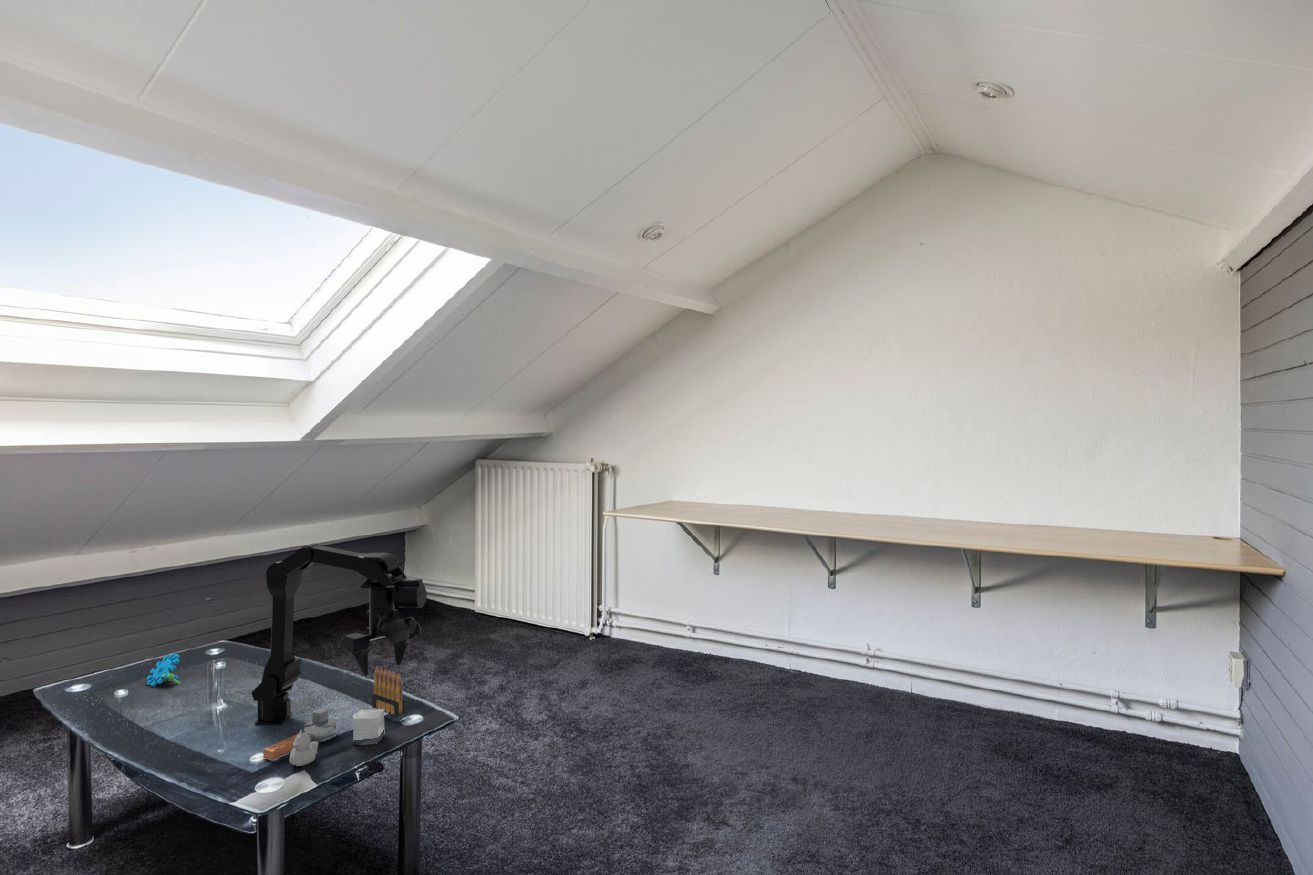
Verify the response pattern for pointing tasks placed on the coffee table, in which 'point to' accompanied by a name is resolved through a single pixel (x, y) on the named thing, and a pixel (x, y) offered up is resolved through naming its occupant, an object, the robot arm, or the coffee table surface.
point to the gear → (164, 670)
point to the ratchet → (314, 729)
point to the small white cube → (368, 724)
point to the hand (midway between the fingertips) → (382, 669)
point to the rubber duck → (303, 750)
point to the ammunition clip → (387, 692)
